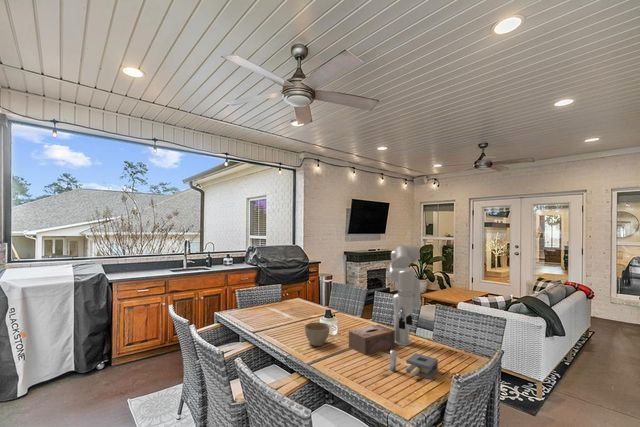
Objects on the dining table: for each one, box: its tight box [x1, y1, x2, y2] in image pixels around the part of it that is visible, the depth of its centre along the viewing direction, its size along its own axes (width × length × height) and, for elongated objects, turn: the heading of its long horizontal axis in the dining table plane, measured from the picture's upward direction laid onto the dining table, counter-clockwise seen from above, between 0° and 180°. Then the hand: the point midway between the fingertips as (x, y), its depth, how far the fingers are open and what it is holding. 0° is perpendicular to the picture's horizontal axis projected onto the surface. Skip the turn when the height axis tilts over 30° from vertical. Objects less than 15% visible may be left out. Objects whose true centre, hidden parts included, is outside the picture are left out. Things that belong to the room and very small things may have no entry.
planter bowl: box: [304, 321, 331, 347], centre depth 199 cm, size 16×16×11 cm
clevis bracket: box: [405, 352, 439, 380], centre depth 159 cm, size 12×18×6 cm, turn 141°
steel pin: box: [389, 349, 397, 373], centre depth 162 cm, size 3×3×10 cm
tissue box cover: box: [348, 324, 396, 356], centre depth 195 cm, size 26×14×10 cm, turn 125°
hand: (405, 326), depth 164 cm, fingers open, 9 cm apart
